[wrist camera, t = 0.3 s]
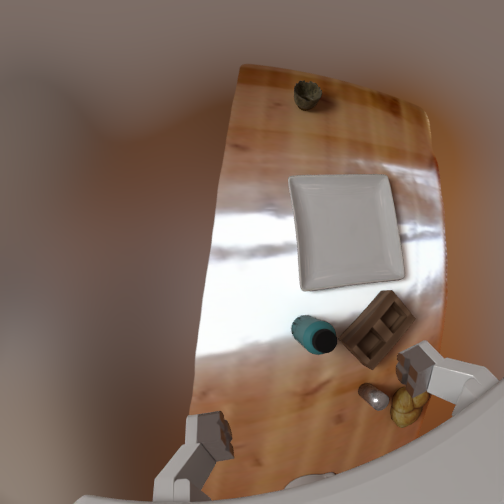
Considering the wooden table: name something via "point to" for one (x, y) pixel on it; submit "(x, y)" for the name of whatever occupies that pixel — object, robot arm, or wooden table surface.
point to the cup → (306, 95)
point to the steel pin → (373, 396)
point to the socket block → (377, 329)
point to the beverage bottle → (314, 334)
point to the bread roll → (407, 407)
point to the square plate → (345, 230)
